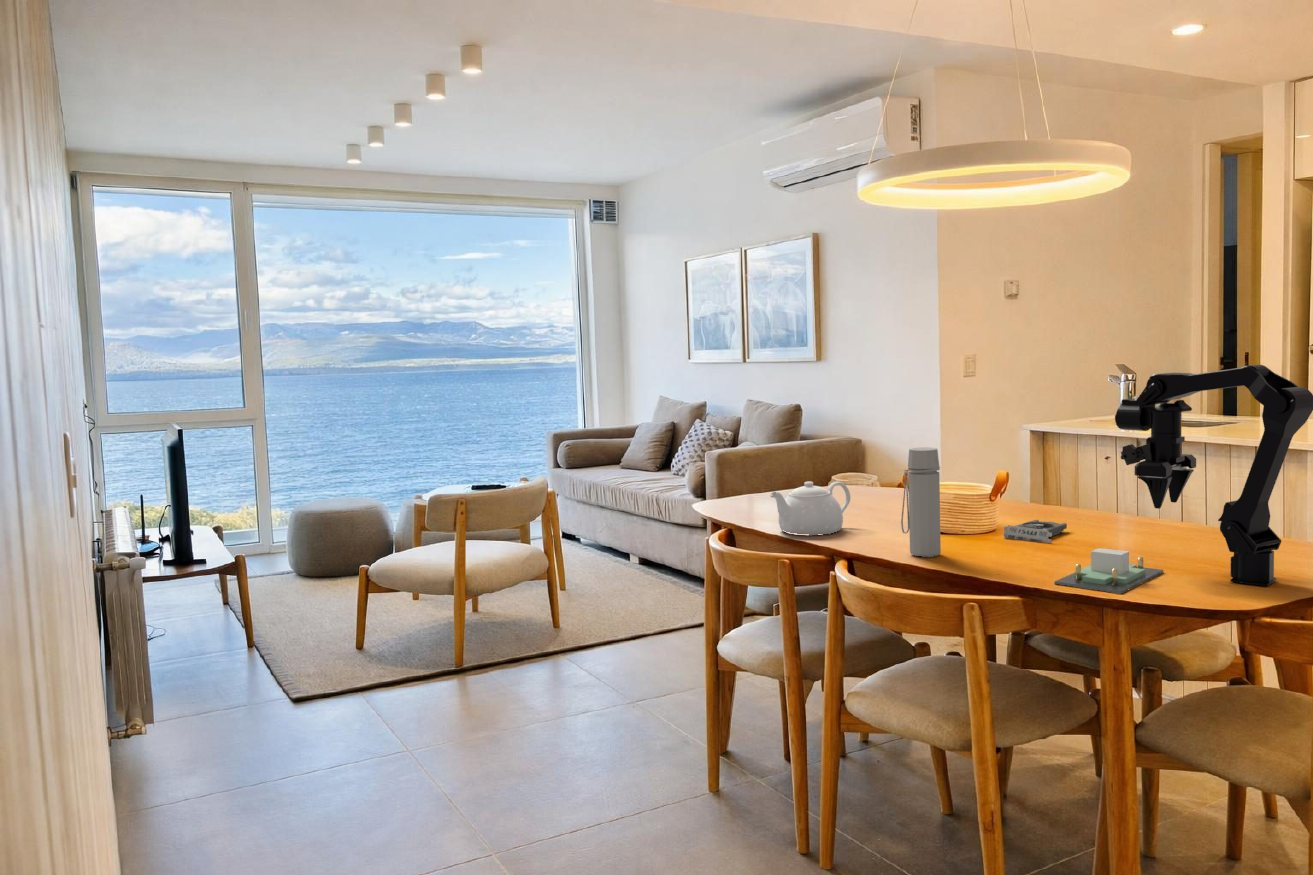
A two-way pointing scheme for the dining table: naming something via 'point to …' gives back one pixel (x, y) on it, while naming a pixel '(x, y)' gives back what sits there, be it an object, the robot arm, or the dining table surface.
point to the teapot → (811, 509)
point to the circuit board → (1109, 575)
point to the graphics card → (1034, 531)
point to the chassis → (1111, 586)
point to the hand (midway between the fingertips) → (1165, 505)
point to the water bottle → (923, 502)
